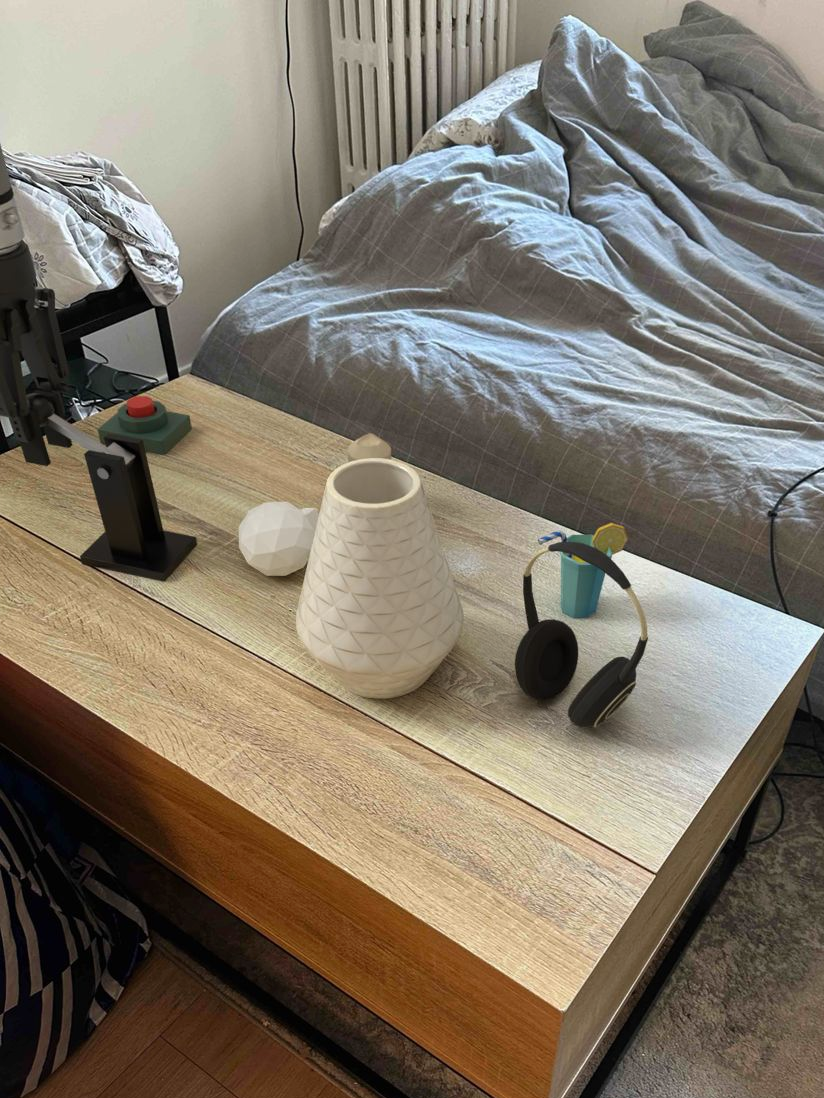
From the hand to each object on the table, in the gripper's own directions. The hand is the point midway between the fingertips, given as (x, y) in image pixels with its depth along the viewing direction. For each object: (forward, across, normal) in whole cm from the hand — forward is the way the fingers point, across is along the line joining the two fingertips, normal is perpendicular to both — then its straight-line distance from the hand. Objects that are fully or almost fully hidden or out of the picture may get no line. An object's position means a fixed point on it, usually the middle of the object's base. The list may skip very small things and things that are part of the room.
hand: (49, 453), depth 112 cm
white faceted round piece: (+12, +4, -27) cm, 30 cm away
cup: (+12, +6, -62) cm, 63 cm away
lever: (-2, 0, -3) cm, 4 cm away
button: (+9, +26, +5) cm, 28 cm away
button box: (+12, +26, +5) cm, 29 cm away
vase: (+12, -10, -44) cm, 47 cm away
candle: (+12, +19, -32) cm, 39 cm away
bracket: (+12, 0, -9) cm, 15 cm away
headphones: (+12, -10, -65) cm, 67 cm away
